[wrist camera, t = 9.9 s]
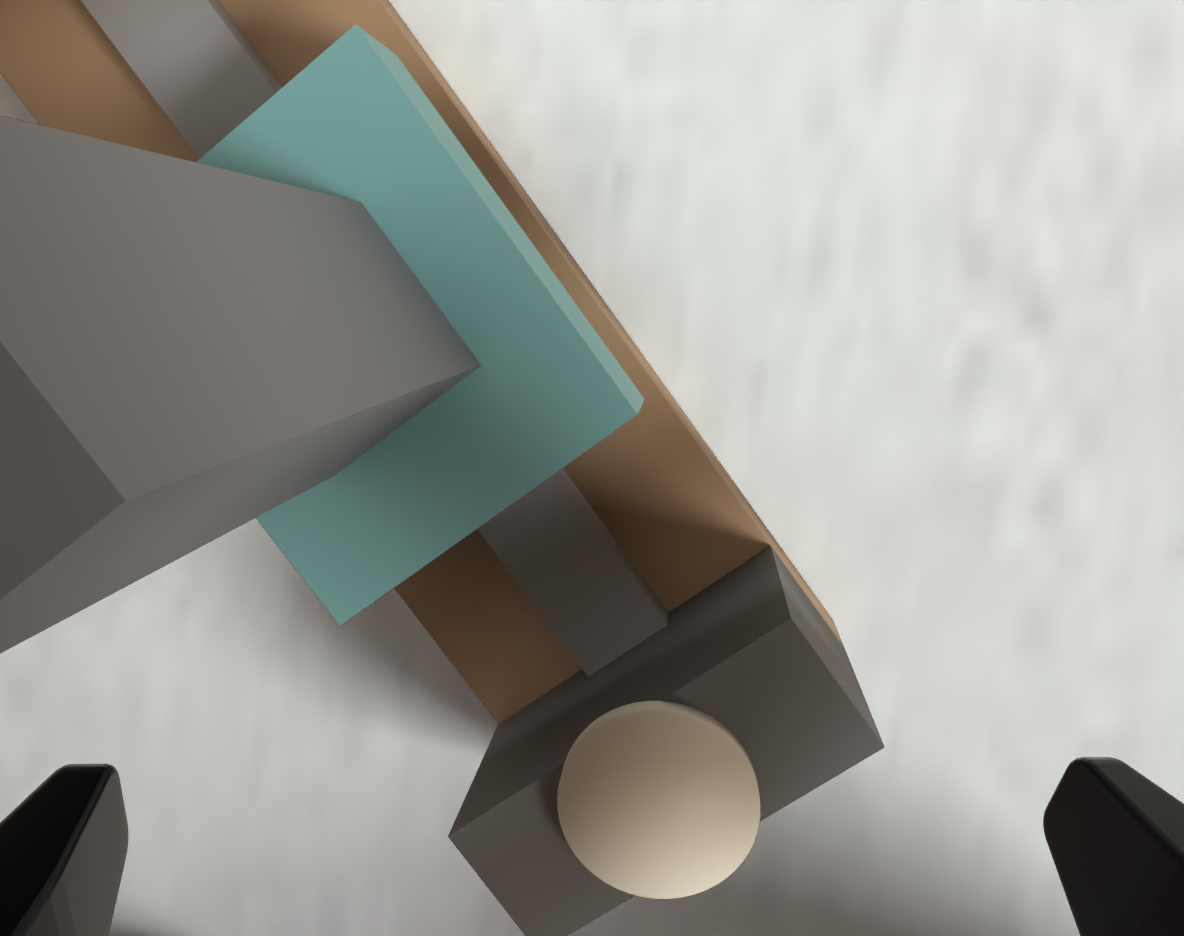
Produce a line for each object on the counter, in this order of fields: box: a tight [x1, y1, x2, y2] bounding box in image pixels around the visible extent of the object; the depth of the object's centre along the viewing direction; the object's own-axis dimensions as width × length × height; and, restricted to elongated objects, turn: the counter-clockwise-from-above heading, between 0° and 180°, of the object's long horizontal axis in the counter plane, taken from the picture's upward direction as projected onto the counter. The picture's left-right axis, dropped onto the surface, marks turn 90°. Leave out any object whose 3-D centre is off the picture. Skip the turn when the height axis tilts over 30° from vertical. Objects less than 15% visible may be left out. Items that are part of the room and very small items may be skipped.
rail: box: [0, 0, 884, 936], centre depth 16 cm, size 22×6×6 cm, turn 37°
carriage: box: [0, 24, 644, 653], centre depth 11 cm, size 7×6×12 cm
